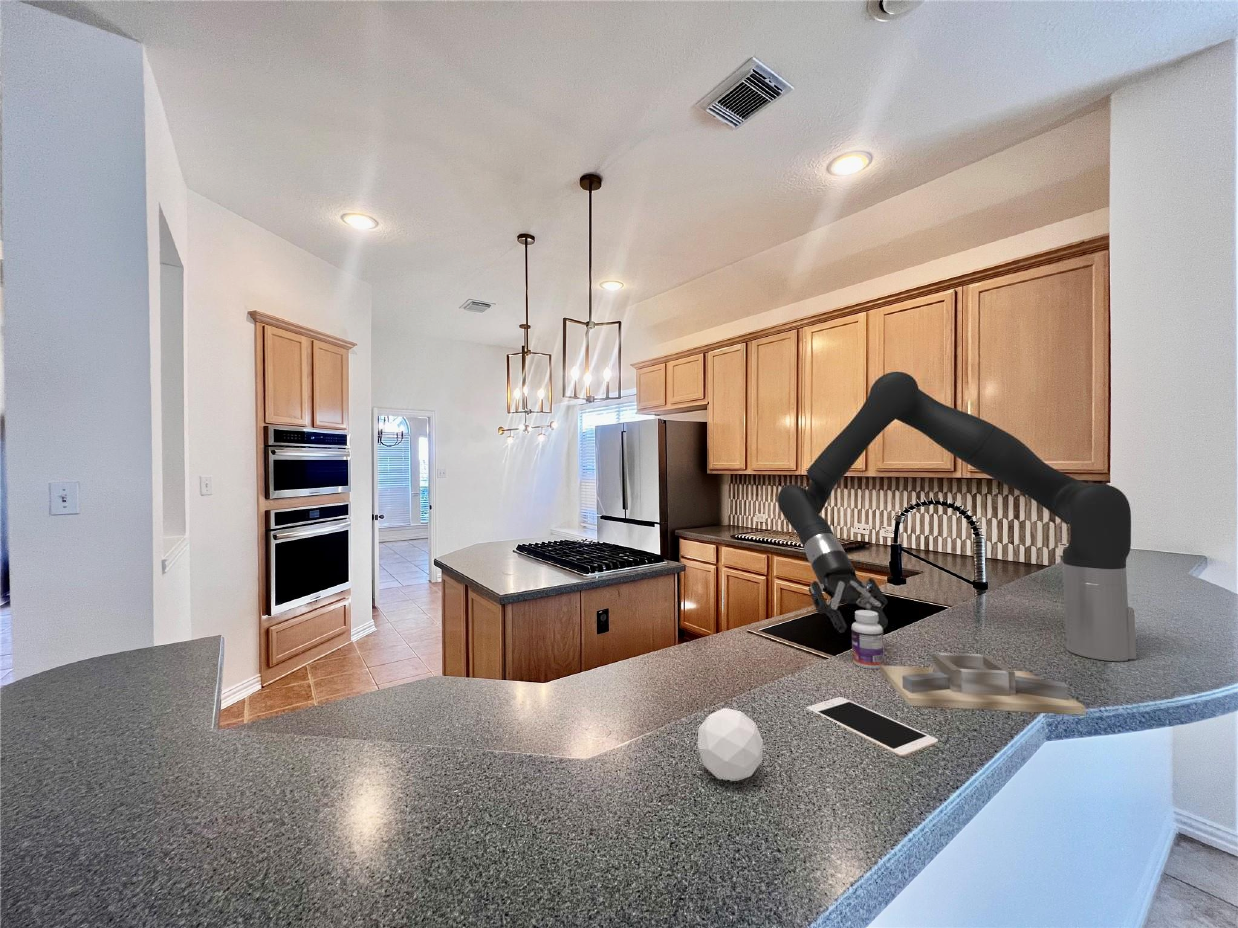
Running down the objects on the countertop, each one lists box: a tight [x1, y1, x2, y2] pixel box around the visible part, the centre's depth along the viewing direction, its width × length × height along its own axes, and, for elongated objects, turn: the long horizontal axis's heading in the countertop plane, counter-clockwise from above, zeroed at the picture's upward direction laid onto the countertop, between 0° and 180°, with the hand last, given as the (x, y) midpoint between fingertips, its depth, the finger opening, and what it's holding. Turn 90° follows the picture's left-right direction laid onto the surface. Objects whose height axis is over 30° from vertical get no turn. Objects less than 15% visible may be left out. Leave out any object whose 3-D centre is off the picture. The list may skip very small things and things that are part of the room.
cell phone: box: [806, 696, 939, 757], centre depth 76 cm, size 8×16×1 cm, turn 27°
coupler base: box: [879, 652, 1087, 716], centre depth 86 cm, size 24×14×5 cm, turn 80°
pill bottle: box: [851, 609, 885, 670], centre depth 99 cm, size 5×5×10 cm
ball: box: [697, 707, 764, 782], centre depth 63 cm, size 8×8×8 cm
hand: (864, 629), depth 100 cm, fingers open, 8 cm apart
